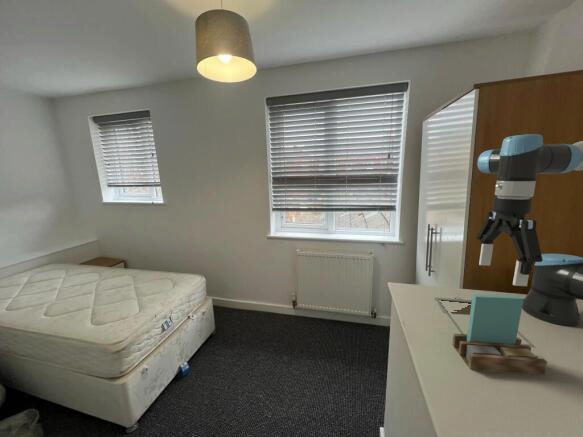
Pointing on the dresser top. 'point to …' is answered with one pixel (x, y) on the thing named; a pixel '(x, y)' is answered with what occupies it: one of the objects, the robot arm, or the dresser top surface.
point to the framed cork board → (467, 313)
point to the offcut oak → (516, 352)
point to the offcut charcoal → (481, 350)
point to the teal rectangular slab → (494, 318)
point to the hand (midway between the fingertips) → (500, 274)
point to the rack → (499, 358)
